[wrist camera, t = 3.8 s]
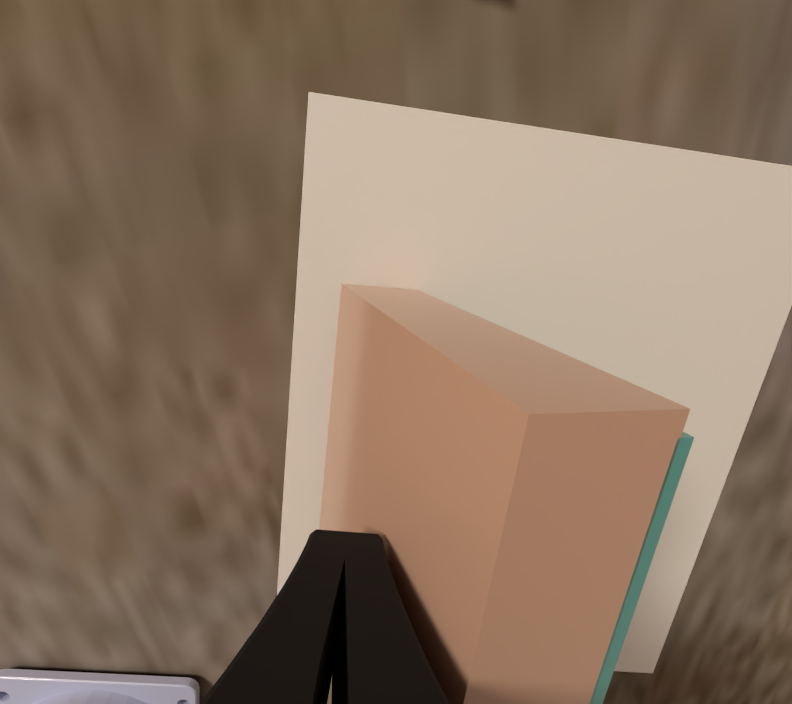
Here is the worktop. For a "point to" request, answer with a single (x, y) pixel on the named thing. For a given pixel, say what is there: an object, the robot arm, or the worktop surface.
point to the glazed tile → (498, 492)
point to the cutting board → (549, 282)
